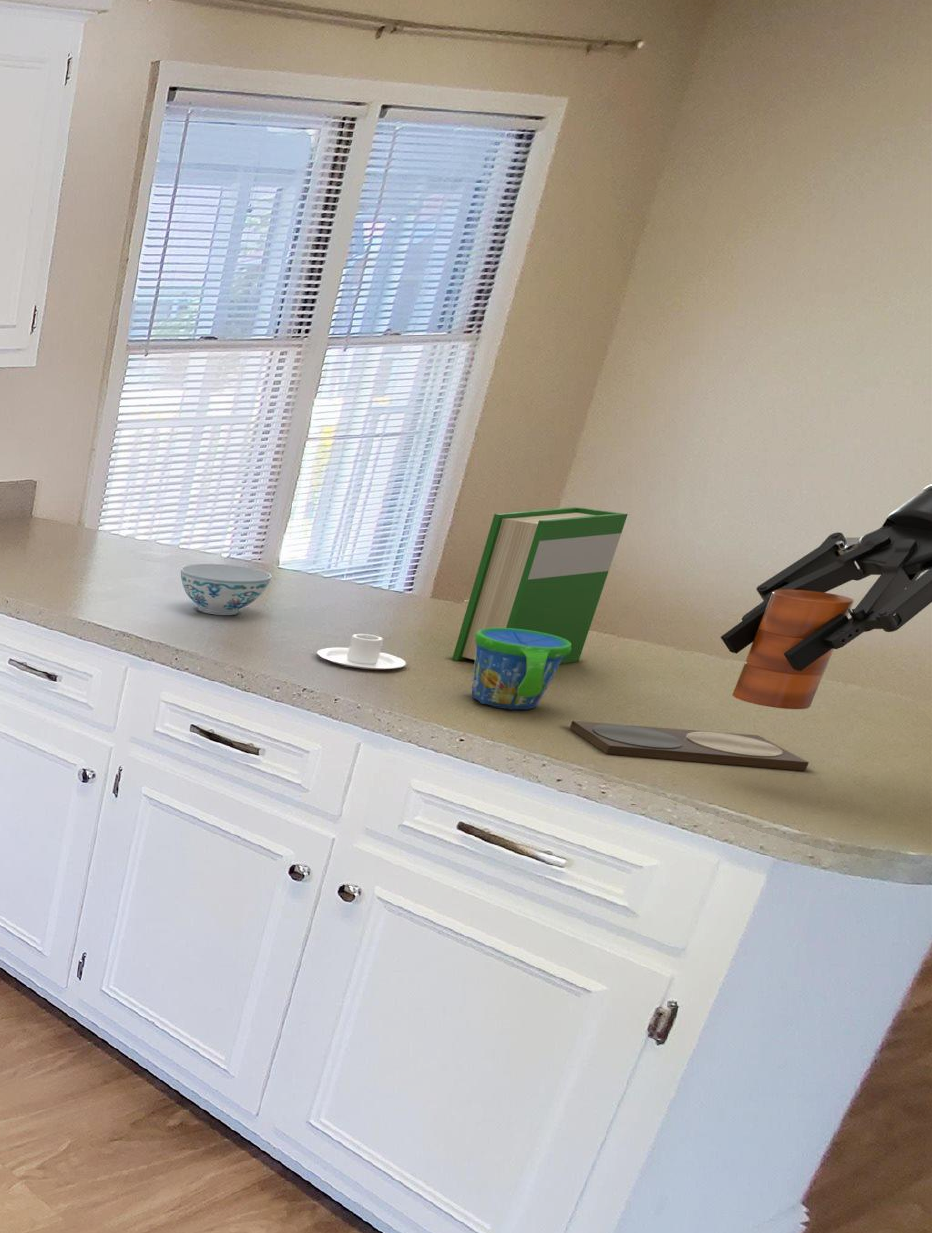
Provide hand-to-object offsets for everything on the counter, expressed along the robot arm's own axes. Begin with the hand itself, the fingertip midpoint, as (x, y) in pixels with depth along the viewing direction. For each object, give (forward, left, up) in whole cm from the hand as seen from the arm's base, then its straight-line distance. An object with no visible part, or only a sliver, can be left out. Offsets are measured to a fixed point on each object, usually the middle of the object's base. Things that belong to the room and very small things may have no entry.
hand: (759, 653), depth 131 cm
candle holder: (+46, +24, -17) cm, 54 cm away
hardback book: (+53, 0, -17) cm, 56 cm away
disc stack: (+1, -3, -6) cm, 7 cm away
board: (+13, -3, -16) cm, 21 cm away
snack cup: (+28, +11, -17) cm, 34 cm away
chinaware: (+77, +39, -17) cm, 87 cm away
